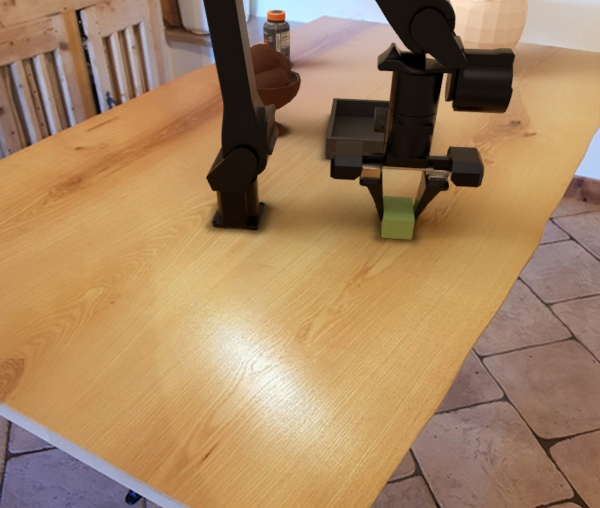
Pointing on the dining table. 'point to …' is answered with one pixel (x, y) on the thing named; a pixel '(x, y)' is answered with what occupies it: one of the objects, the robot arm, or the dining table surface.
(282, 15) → the pill bottle
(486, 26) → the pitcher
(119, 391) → the dining table surface
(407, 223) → the green block
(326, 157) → the dark brown tray
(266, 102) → the ice cream bowl
